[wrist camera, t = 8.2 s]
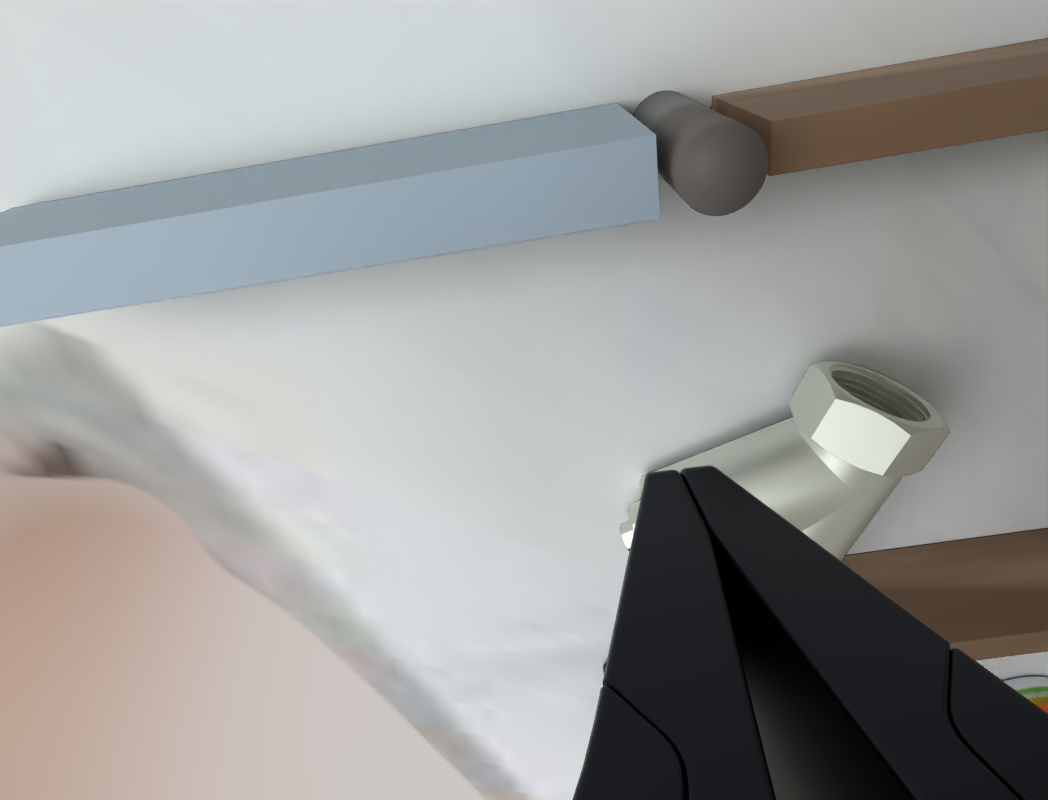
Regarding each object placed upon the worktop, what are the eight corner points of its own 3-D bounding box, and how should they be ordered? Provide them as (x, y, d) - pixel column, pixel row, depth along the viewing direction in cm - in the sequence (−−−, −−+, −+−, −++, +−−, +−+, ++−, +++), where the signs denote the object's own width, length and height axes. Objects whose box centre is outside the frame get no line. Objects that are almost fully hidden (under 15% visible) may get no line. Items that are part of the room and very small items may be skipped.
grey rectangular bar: (44, 265, 17) (-89, 340, 13) (12, 207, 16) (-139, 270, 12) (621, 168, 16) (660, 218, 12) (617, 102, 15) (656, 134, 12)
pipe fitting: (603, 516, 23) (778, 561, 24) (612, 600, 20) (815, 650, 21) (697, 314, 19) (903, 376, 20) (727, 376, 16) (974, 448, 17)
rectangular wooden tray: (1098, 541, 24) (1230, 660, 19) (662, 599, 24) (696, 725, 20) (1322, -24, 15) (1658, -37, 10) (627, 96, 16) (676, 131, 11)
